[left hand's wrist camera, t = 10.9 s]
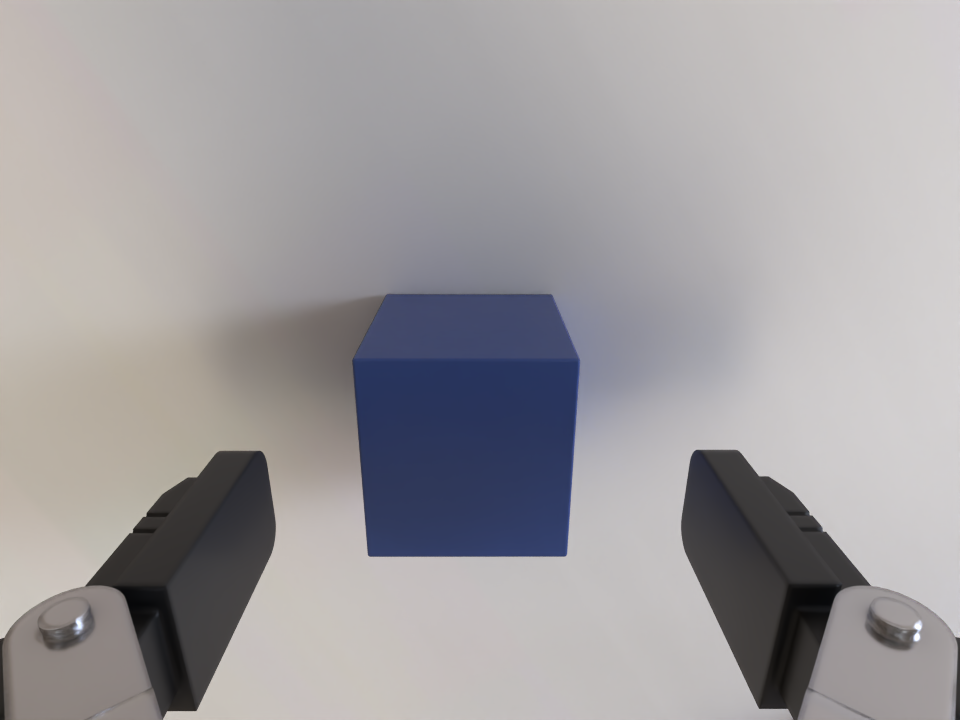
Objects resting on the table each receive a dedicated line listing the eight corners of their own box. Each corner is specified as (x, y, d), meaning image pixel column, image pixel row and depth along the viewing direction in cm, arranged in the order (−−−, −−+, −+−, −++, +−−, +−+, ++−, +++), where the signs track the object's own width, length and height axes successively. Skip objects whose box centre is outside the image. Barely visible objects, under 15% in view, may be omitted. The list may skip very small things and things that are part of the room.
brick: (394, 450, 18) (367, 557, 13) (386, 294, 16) (351, 358, 12) (545, 450, 18) (567, 557, 13) (552, 294, 16) (580, 358, 12)
